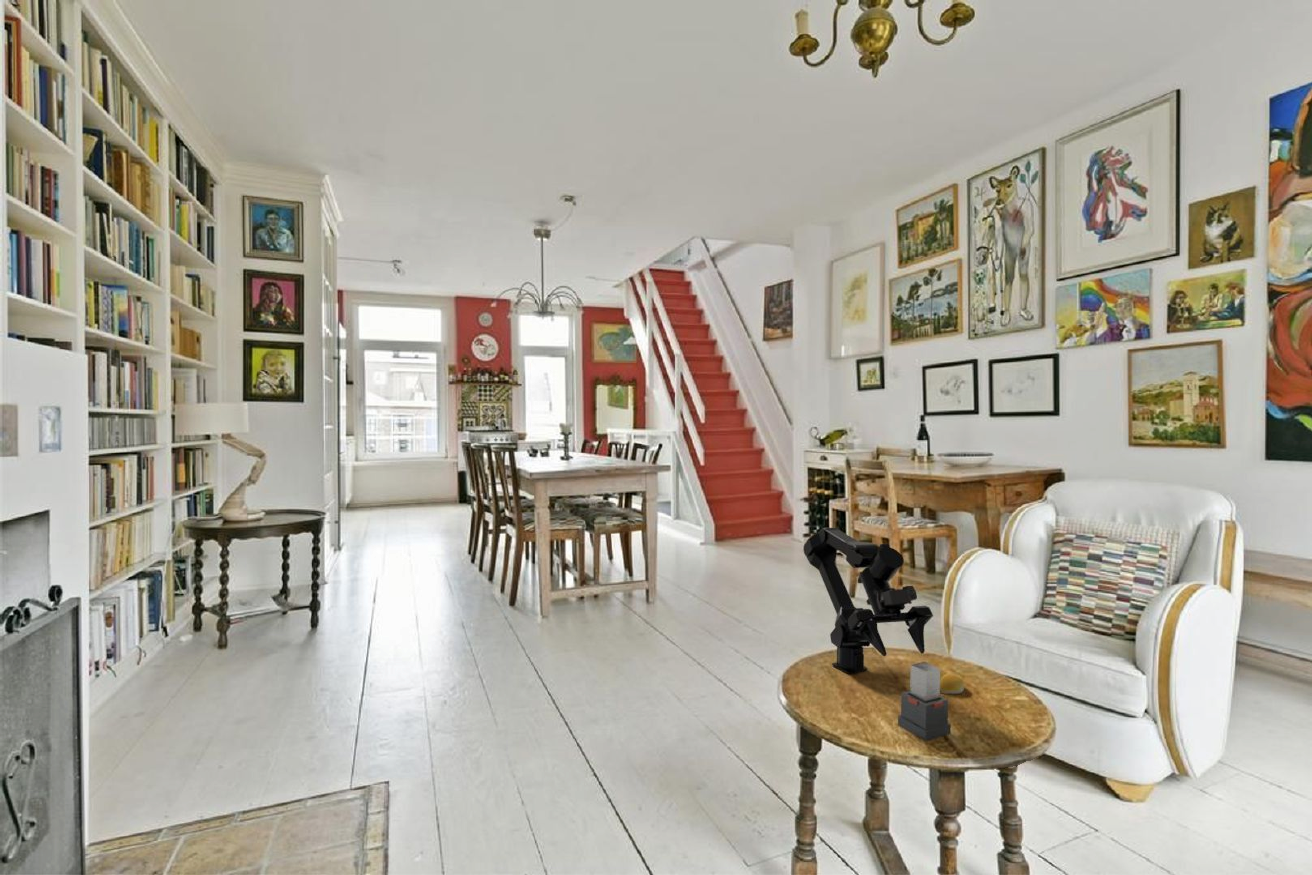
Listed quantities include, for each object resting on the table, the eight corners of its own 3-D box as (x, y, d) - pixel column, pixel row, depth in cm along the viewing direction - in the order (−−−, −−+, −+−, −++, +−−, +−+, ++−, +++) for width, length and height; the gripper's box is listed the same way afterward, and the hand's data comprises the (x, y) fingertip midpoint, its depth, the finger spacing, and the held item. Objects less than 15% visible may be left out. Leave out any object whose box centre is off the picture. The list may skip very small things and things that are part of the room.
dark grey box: (897, 724, 134) (898, 692, 134) (922, 717, 137) (923, 686, 137) (925, 740, 128) (926, 706, 127) (950, 733, 131) (951, 700, 131)
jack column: (908, 715, 133) (910, 664, 133) (923, 711, 135) (924, 661, 135) (925, 724, 130) (926, 672, 129) (939, 720, 131) (940, 668, 131)
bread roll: (955, 698, 147) (955, 682, 147) (918, 686, 154) (918, 669, 154) (970, 688, 153) (971, 672, 152) (934, 676, 159) (934, 661, 159)
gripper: (854, 574, 143) (879, 640, 132) (929, 571, 146) (959, 635, 136) (837, 599, 151) (860, 662, 140) (908, 595, 154) (935, 657, 144)
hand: (904, 654), depth 140 cm, fingers open, 9 cm apart
